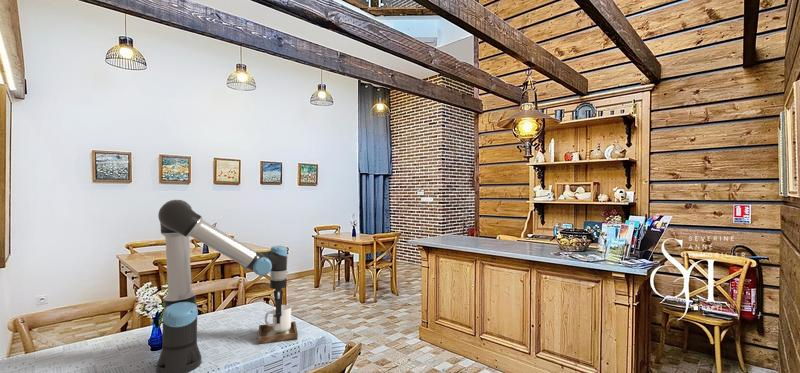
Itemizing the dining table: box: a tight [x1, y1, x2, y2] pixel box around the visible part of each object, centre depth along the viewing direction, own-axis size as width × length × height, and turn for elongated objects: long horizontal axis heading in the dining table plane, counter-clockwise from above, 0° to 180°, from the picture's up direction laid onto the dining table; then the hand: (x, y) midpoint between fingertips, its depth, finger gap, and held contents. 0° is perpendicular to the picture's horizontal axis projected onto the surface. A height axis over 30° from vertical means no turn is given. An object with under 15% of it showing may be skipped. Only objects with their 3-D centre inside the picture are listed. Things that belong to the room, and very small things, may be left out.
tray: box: [257, 321, 299, 345], centre depth 175 cm, size 17×16×3 cm
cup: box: [264, 304, 292, 332], centre depth 175 cm, size 8×12×10 cm
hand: (277, 326), depth 175 cm, fingers closed on cup, 8 cm apart
